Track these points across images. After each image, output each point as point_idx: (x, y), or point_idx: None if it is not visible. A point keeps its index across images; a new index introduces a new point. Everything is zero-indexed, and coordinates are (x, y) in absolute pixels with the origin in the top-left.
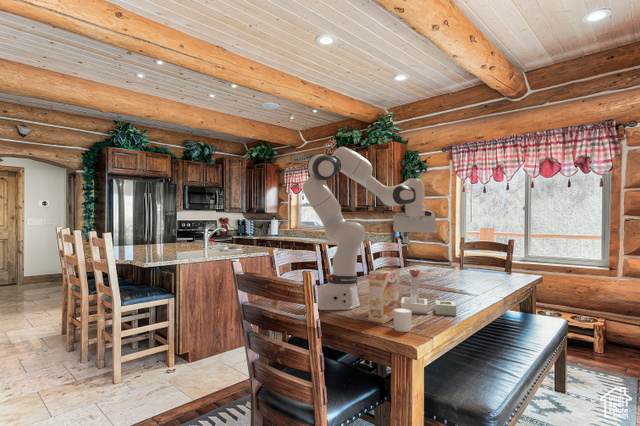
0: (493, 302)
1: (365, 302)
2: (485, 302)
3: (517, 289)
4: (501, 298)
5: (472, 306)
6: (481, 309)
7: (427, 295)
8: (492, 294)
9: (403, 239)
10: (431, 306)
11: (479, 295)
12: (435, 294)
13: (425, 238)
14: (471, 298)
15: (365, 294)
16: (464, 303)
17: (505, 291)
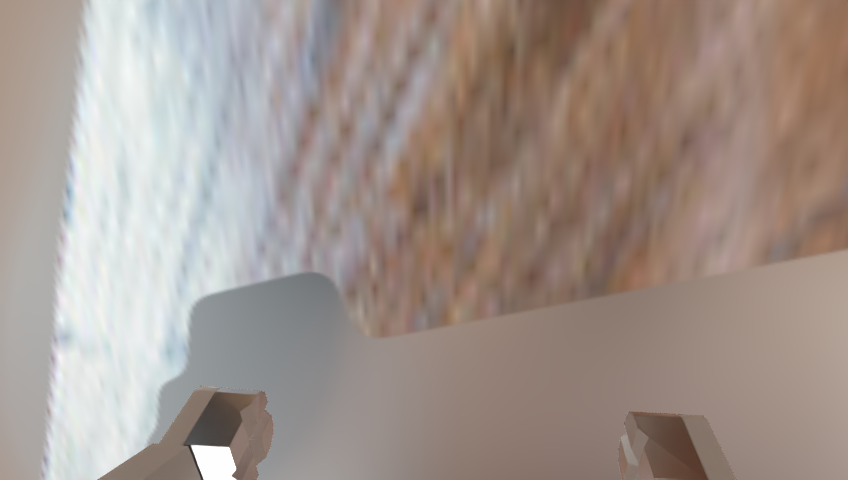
0: (71, 230)
1: (835, 6)
2: (104, 220)
3: (43, 472)
4: (59, 316)
5: (144, 111)
6: (87, 52)
7: (401, 299)
8: (111, 378)
9: (713, 449)
10: (363, 35)
11: (158, 350)
12: (361, 328)
13: (190, 444)
14: (181, 286)
15: (790, 243)
16: (195, 170)
17: (76, 435)
